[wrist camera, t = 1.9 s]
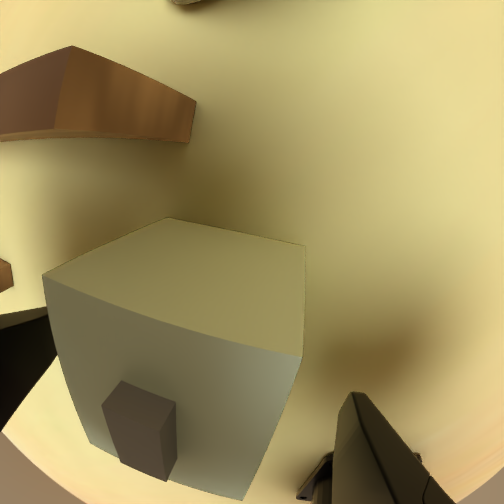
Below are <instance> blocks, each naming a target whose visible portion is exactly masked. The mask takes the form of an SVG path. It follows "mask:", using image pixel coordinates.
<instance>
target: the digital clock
mask: <svg viewBox="0 0 504 504" xmlns="http://www.w3.org/2000/svg"><path fill="white" fill-rule="evenodd" d="M171 1H173V2H174V3H176V4H178V5H179V4H190V3H194V2H198V1H201V0H171Z"/></svg>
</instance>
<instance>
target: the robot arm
mask: <svg viewBox="0 0 504 504" xmlns="http://www.w3.org/2000/svg"><path fill="white" fill-rule="evenodd" d="M57 355H58V354H57V350H56V346H55V342H54V338H53V334H52V329H51V325H50V320H49V315H48V310H47V306H46V307H41V308H35V309H30V310H24V311H19V312H13V313H7V314H2V315H0V432H1V431H2V429H3V428H4V426H5V425H6V423H7V422H8V421H9V419H10V418H11V416H12V415H13V414H14V412H15V411H16V409H17V408H18V407H19V405H20V404H21V403H22V401H23V400H24V399H25V397H26V396H27V395H28V393H29V392H30V391H31V389H32V388H33V387H34V386H35V384H36V383H37V382H38V380H39V379H40V378H41V377H42V375H43V374H44V373H45V372H46V370H47V369H48V368H49V366H50V365H51V364H52V362H53V361H54V359H55V358H56V356H57ZM296 499H298V500H305V501H312V502H311V504H456V503H455V502H454V501H453V500H452V499H451V498H450V497H449V496H448V495H447V494H446V493H445V491H444V490H443V489H442V488H441V487H440V486H439V484H438V483H437V482H436V481H435V479H434V478H433V477H432V476H430V473H429V472H428V471H427V470H426V468H425V467H424V466H423V465H422V459H421V456H420V455H414V453H413V452H412V451H411V450H410V449H409V447H408V446H407V445H406V444H405V442H404V441H403V440H402V439H401V437H400V436H399V435H398V434H397V432H396V431H395V430H394V429H393V427H392V426H391V425H390V424H389V422H388V421H387V420H386V419H385V417H384V416H383V415H382V414H381V412H380V411H379V410H378V409H377V407H376V406H375V405H374V404H373V402H372V401H371V400H370V399H369V398H368V396H367V395H366V394H365V393H362V392H354V391H353V392H350V393H349V395H348V396H347V398H346V400H345V402H344V404H343V406H342V407H341V409H340V411H339V415H338V422H337V432H336V440H335V449H334V454H332V455H328V456H326V457H325V458H324V459H323V460H322V462H321V463H320V464H319V466H318V467H317V468H316V470H315V471H314V472H313V474H312V475H311V476H310V477H309V479H308V480H307V481H306V482H305V483H304V485H303V486H302V487H301V488H300V490H299V491H298V492H297V494H296Z"/></svg>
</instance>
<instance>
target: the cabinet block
mask: <svg viewBox="0 0 504 504" xmlns="http://www.w3.org/2000/svg"><path fill="white" fill-rule="evenodd" d="M42 279H43V286H44V293H45V299H46V305H47V310H48V315H49V320H50V325H51V329H52V334H53V338H54V342H55V346H56V350H57V354H58V357H59V361H60V364H61V368H62V371H63V374H64V377H65V380H66V383H67V386H68V389H69V392H70V395H71V398H72V401H73V403H74V406H75V409H76V411H77V414H78V416H79V419H80V421H81V423H82V426H83V428H84V430H85V433H86V435H87V437H88V439H89V442H90V443H91V444H93V445H94V446H96V447H98V448H100V449H102V450H104V451H105V452H107V453H109V454H111V455H113V456H115V457H117V458H119V459H120V462H121V463H123V464H125V465H127V466H129V467H131V468H134V469H136V470H138V471H140V472H143V473H145V474H147V475H150V476H152V477H155V478H157V479H160V480H162V481H165V482H167V480H171V481H174V482H177V483H179V484H182V485H185V486H188V487H192V488H195V489H198V490H201V491H205V492H208V493H212V494H216V495H220V496H224V497H228V498H232V499H236V500H241V501H243V499H244V497H245V495H246V493H247V491H248V489H249V487H250V485H251V482H252V480H253V478H254V476H255V474H256V472H257V470H258V468H259V465H260V463H261V461H262V459H263V457H264V454H265V452H266V450H267V448H268V445H269V443H270V441H271V438H272V436H273V434H274V431H275V429H276V426H277V424H278V422H279V419H280V417H281V414H282V412H283V409H284V407H285V404H286V401H287V399H288V396H289V394H290V391H291V388H292V386H293V383H294V380H295V378H296V375H297V372H298V369H299V366H300V364H301V361H302V358H303V340H304V314H305V246H302V245H297V244H292V243H288V242H283V241H279V240H274V239H269V238H265V237H260V236H255V235H250V234H246V233H241V232H236V231H231V230H227V229H222V228H217V227H212V226H207V225H202V224H197V223H192V222H187V221H182V220H177V219H172V218H164V219H162V220H160V221H157V222H155V223H152V224H150V225H148V226H145V227H143V228H141V229H138V230H136V231H134V232H131V233H129V234H127V235H124V236H122V237H120V238H118V239H115V240H113V241H111V242H109V243H107V244H104V245H102V246H100V247H98V248H96V249H93V250H91V251H89V252H87V253H85V254H83V255H81V256H79V257H77V258H75V259H72V260H70V261H68V262H66V263H64V264H62V265H60V266H58V267H56V268H54V269H52V270H50V271H48V272H46V273H44V274H42Z"/></svg>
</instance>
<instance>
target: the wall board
mask: <svg viewBox="0 0 504 504" xmlns="http://www.w3.org/2000/svg"><path fill="white" fill-rule="evenodd" d="M195 105H196V101H195V100H193V99H191V98H189V97H187V96H185V95H183V94H182V93H180V92H178V91H176V90H174V89H172V88H170V87H168V86H166V85H164V84H162V83H160V82H158V81H156V80H154V79H151V78H149V77H147V76H145V75H143V74H141V73H139V72H136V71H134V70H132V69H130V68H128V67H125V66H123V65H121V64H118V63H116V62H114V61H111V60H109V59H106V58H104V57H102V56H99V55H96V54H94V53H91V52H89V51H86V50H83V49H81V48H78V47H75V46H69V47H66V48H63V49H60V50H57V51H54V52H51V53H48V54H45V55H43V56H40V57H37V58H35V59H32V60H30V61H27V62H25V63H23V64H20V65H18V66H16V67H14V68H12V69H9V70H7V71H5V72H3V73H1V74H0V142H4V141H14V140H27V139H44V138H81V137H91V138H130V139H148V140H162V141H174V142H185V143H189V139H190V133H191V127H192V122H193V116H194V111H195ZM12 286H14V285H13V280H12V274H11V267H10V264H9V263H7V262H5V261H3V260H1V259H0V293H1V292H3V291H5V290H6V289H8V288H10V287H12Z"/></svg>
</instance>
